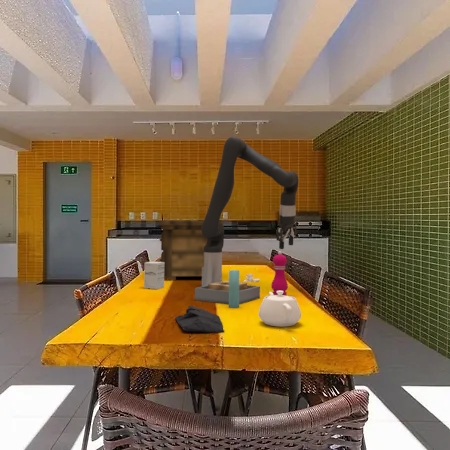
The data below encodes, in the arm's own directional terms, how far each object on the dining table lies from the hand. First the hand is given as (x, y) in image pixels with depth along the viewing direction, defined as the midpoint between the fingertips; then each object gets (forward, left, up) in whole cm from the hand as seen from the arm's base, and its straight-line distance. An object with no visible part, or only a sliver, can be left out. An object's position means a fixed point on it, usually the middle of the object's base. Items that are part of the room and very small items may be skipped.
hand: (286, 246), depth 213 cm
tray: (-10, -37, -21) cm, 43 cm away
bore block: (-10, -37, -21) cm, 43 cm away
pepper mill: (+5, -18, -21) cm, 28 cm away
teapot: (+27, -64, -21) cm, 72 cm away
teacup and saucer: (-27, +14, -21) cm, 37 cm away
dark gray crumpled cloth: (+7, -81, -22) cm, 84 cm away
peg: (+1, -50, -21) cm, 54 cm away
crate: (-66, +10, -21) cm, 70 cm away
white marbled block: (-55, -33, -21) cm, 67 cm away
